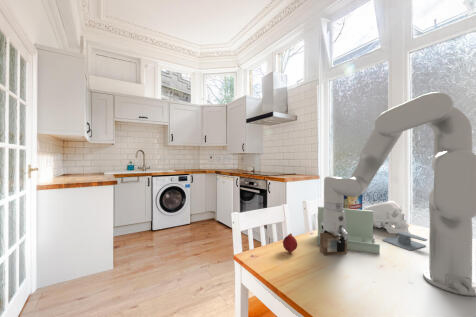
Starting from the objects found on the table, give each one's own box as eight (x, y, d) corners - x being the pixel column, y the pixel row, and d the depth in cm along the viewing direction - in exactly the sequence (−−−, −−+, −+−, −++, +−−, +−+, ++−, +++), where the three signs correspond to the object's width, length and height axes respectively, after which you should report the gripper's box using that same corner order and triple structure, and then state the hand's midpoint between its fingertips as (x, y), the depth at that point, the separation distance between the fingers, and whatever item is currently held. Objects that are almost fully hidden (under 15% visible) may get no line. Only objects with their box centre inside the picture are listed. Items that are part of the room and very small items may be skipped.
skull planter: (407, 235, 103) (387, 198, 110) (370, 241, 118) (355, 208, 126) (420, 231, 109) (401, 196, 117) (384, 237, 125) (369, 206, 132)
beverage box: (362, 232, 112) (362, 191, 112) (348, 235, 108) (348, 192, 107) (350, 228, 118) (350, 189, 118) (336, 231, 114) (337, 191, 114)
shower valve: (417, 241, 88) (381, 230, 101) (417, 254, 88) (381, 241, 101) (434, 237, 92) (397, 227, 106) (434, 249, 92) (397, 237, 106)
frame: (347, 254, 87) (347, 234, 87) (325, 255, 85) (325, 236, 85) (341, 250, 90) (341, 231, 90) (319, 251, 89) (320, 233, 89)
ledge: (379, 253, 87) (379, 217, 87) (317, 244, 96) (318, 212, 96) (372, 242, 99) (372, 210, 99) (317, 235, 107) (318, 206, 107)
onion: (287, 256, 84) (287, 236, 84) (280, 250, 90) (280, 231, 90) (299, 254, 86) (300, 235, 86) (292, 248, 91) (292, 230, 91)
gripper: (356, 210, 80) (356, 255, 80) (329, 201, 97) (329, 238, 97) (338, 211, 79) (338, 256, 79) (314, 202, 96) (314, 239, 96)
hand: (333, 246), depth 88 cm, fingers open, 9 cm apart
